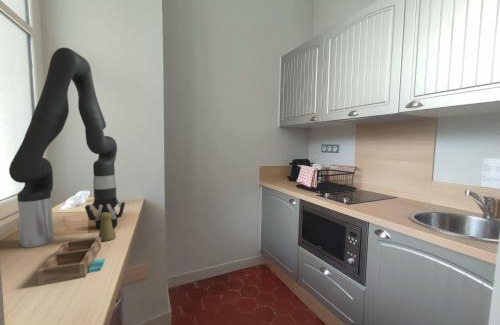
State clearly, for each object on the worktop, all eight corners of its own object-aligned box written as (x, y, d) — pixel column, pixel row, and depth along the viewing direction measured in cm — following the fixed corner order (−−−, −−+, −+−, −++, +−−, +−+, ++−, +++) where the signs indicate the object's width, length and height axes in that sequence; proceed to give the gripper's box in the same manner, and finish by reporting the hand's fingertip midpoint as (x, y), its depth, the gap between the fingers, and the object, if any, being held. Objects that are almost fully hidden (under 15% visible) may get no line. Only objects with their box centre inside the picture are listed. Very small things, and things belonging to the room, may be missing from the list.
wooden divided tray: (65, 252, 80) (65, 241, 80) (111, 246, 85) (111, 235, 85) (38, 285, 61) (37, 271, 61) (98, 274, 67) (98, 261, 66)
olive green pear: (107, 241, 88) (106, 213, 87) (94, 240, 89) (93, 212, 89) (119, 235, 94) (118, 209, 93) (107, 234, 95) (105, 208, 94)
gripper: (80, 189, 84) (82, 234, 85) (124, 187, 89) (125, 229, 91) (86, 186, 91) (88, 227, 92) (126, 183, 96) (128, 223, 98)
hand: (107, 228), depth 91 cm, fingers closed on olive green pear, 4 cm apart
